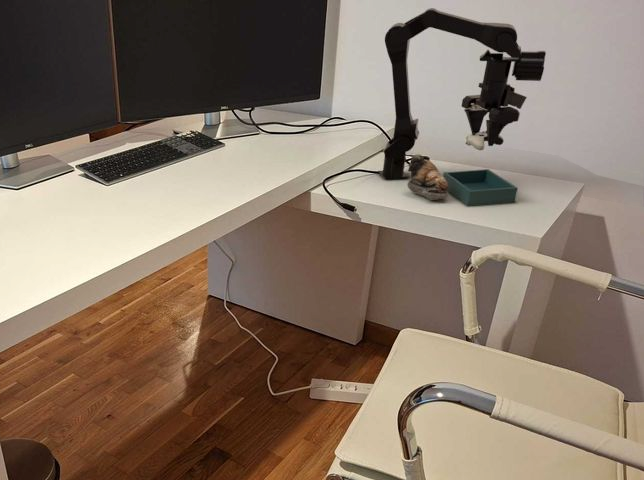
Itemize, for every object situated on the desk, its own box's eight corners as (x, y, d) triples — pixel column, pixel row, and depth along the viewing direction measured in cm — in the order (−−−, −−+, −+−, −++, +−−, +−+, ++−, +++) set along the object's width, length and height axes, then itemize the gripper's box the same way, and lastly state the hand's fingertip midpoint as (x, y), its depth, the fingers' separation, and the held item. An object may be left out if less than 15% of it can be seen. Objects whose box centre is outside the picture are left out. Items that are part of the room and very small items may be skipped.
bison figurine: (452, 199, 172) (459, 161, 167) (434, 205, 169) (441, 166, 164) (415, 187, 181) (420, 150, 175) (397, 193, 178) (402, 156, 172)
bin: (441, 186, 181) (443, 172, 179) (485, 182, 182) (488, 169, 179) (467, 206, 168) (470, 191, 166) (514, 202, 169) (518, 187, 167)
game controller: (483, 148, 172) (472, 128, 173) (467, 159, 177) (457, 140, 178) (506, 141, 176) (496, 122, 177) (491, 152, 181) (481, 133, 182)
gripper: (546, 84, 161) (531, 149, 170) (506, 70, 177) (493, 130, 185) (503, 88, 160) (489, 152, 169) (466, 73, 176) (455, 133, 184)
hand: (482, 141), depth 177 cm, fingers closed on game controller, 8 cm apart
